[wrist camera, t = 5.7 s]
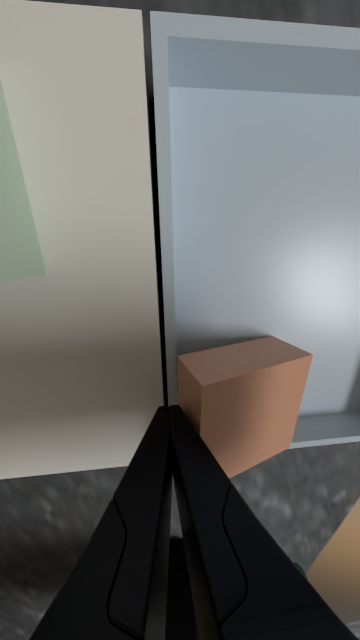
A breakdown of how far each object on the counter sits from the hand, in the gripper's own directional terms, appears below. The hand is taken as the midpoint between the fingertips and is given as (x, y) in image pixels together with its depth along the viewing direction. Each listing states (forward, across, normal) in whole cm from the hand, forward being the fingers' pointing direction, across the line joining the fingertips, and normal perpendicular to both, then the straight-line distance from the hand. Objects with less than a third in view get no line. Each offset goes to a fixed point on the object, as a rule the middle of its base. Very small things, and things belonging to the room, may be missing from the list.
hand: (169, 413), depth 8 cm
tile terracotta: (+1, -3, 0) cm, 3 cm away
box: (+3, -6, -4) cm, 8 cm away
